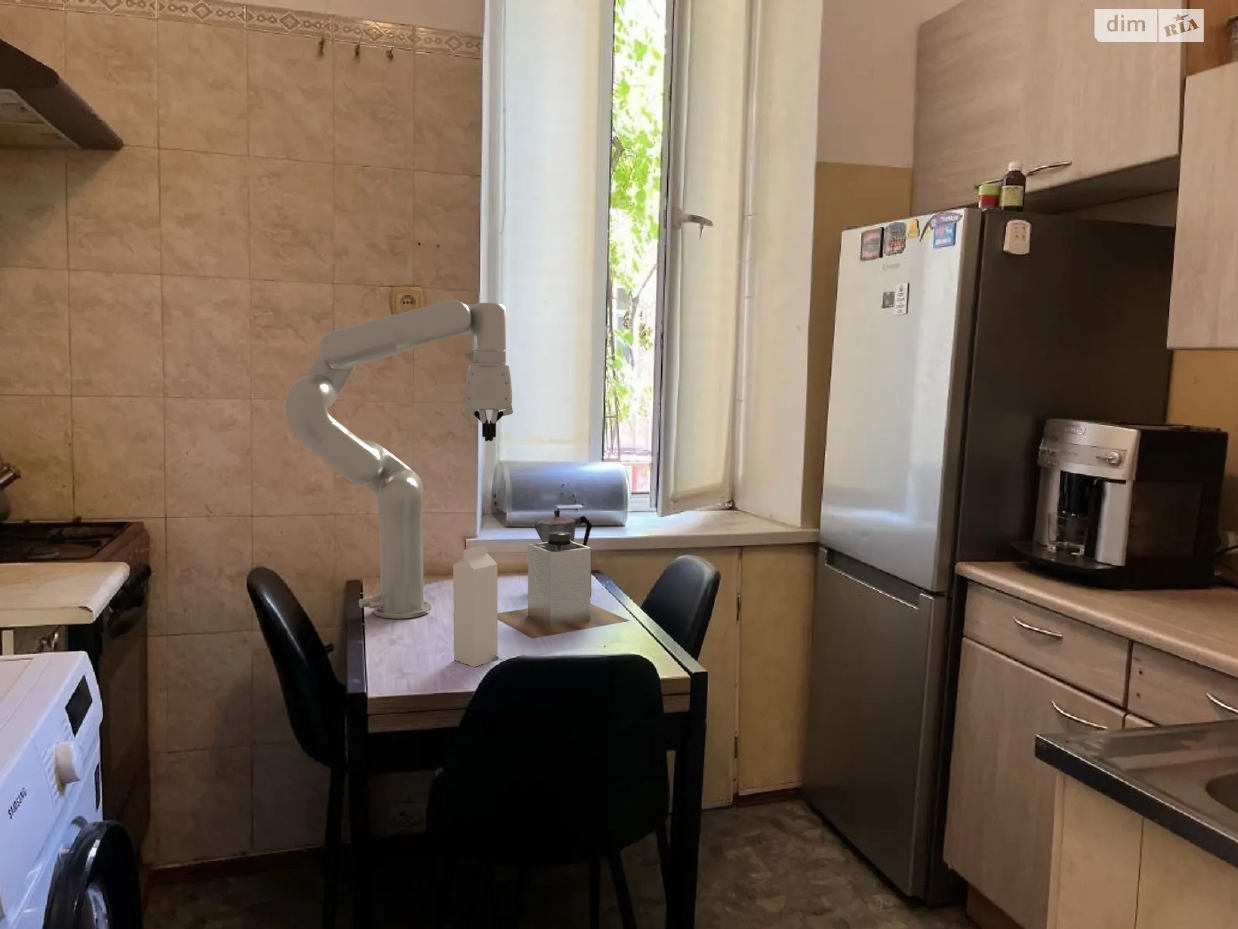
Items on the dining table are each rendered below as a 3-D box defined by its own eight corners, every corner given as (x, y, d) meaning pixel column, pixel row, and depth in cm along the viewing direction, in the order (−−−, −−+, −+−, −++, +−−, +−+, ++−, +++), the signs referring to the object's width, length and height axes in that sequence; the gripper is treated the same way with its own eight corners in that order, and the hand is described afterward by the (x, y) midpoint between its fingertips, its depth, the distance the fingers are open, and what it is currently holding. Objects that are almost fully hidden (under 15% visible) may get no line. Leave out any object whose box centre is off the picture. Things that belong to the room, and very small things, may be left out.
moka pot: (526, 586, 233) (526, 508, 230) (582, 580, 239) (583, 505, 237) (539, 595, 224) (539, 514, 222) (597, 589, 231) (598, 511, 228)
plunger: (552, 597, 195) (552, 538, 194) (534, 589, 202) (534, 532, 200) (584, 592, 199) (584, 535, 198) (565, 585, 206) (565, 529, 205)
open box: (550, 626, 194) (550, 552, 192) (527, 615, 203) (528, 544, 201) (601, 617, 202) (602, 546, 200) (578, 607, 210) (578, 538, 208)
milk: (497, 660, 177) (498, 547, 174) (474, 668, 172) (474, 552, 169) (476, 653, 181) (477, 543, 178) (452, 660, 176) (452, 547, 173)
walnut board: (532, 644, 187) (532, 638, 186) (489, 619, 203) (489, 614, 203) (629, 626, 200) (629, 620, 200) (581, 604, 216) (581, 599, 216)
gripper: (452, 358, 201) (453, 441, 203) (521, 359, 201) (521, 442, 204) (457, 358, 208) (458, 438, 211) (523, 359, 209) (523, 439, 211)
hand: (489, 440), depth 207 cm, fingers closed
